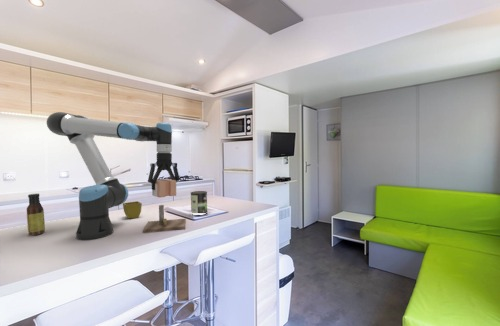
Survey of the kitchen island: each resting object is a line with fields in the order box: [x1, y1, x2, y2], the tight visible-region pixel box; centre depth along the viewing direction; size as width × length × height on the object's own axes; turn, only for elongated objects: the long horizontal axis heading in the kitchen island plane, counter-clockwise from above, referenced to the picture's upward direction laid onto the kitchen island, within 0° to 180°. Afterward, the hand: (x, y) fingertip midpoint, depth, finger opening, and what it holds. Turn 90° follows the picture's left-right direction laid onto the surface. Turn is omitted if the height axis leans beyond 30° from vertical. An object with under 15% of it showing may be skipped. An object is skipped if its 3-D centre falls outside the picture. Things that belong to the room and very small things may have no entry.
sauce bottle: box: [26, 193, 46, 236], centre depth 116 cm, size 7×6×20 cm
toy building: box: [151, 178, 177, 198], centre depth 125 cm, size 9×9×8 cm
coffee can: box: [190, 190, 208, 213], centre depth 151 cm, size 10×10×14 cm
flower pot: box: [122, 201, 143, 220], centre depth 145 cm, size 9×9×9 cm
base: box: [142, 204, 187, 234], centre depth 125 cm, size 20×15×12 cm
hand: (164, 195), depth 125 cm, fingers closed on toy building, 9 cm apart
